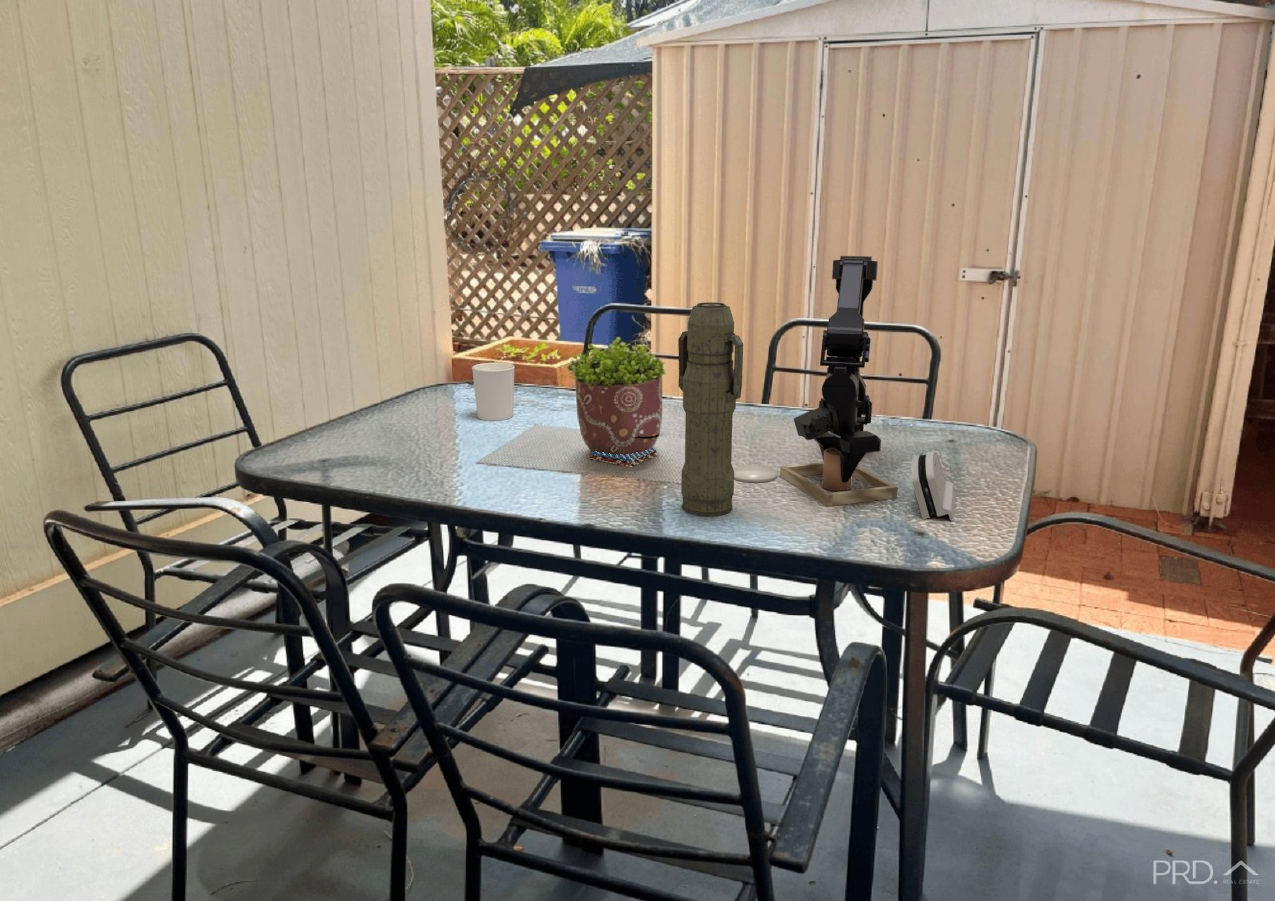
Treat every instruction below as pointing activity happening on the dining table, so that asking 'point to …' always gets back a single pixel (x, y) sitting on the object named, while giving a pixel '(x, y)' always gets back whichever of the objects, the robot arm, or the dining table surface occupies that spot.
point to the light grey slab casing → (932, 486)
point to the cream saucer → (754, 473)
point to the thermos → (709, 407)
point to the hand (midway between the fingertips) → (837, 477)
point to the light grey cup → (494, 390)
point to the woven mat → (624, 457)
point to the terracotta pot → (833, 471)
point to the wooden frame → (877, 492)
